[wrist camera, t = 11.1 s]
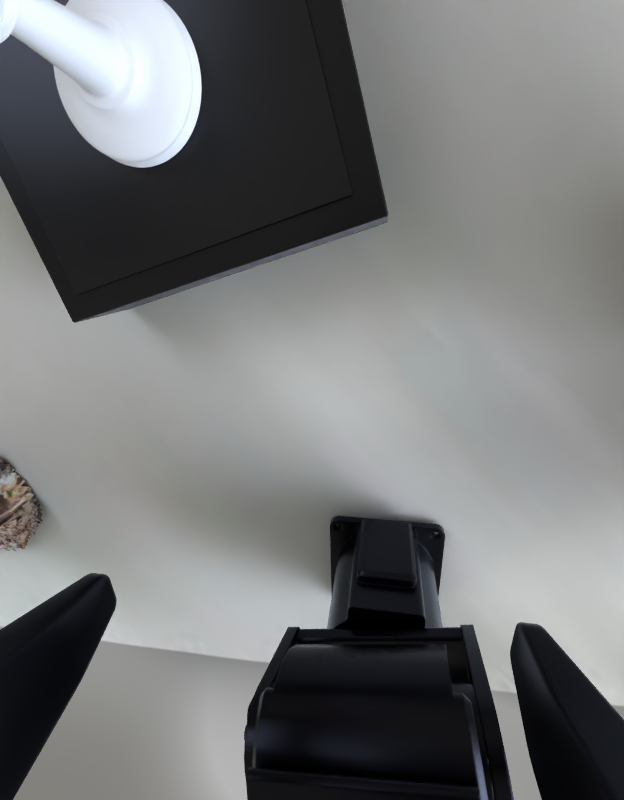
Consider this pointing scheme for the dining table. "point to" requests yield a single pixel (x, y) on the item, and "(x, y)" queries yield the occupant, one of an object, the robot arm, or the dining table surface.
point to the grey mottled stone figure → (16, 510)
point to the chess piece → (116, 71)
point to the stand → (199, 160)
